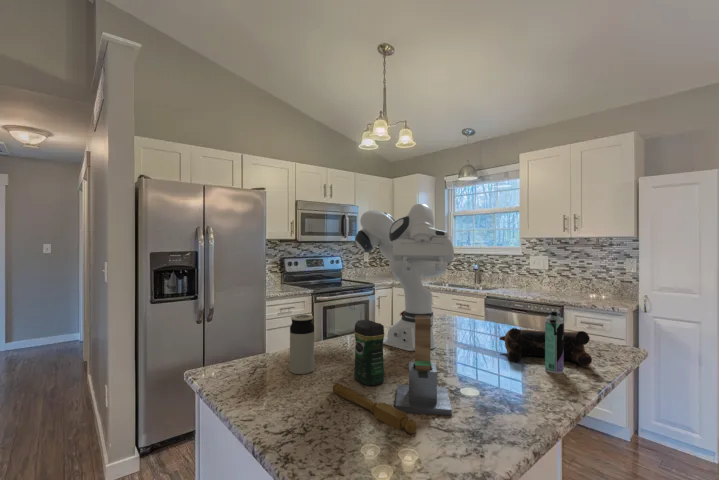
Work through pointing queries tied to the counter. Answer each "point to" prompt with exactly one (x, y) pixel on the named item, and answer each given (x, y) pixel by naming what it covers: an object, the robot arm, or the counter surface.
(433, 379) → the stand
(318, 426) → the counter surface
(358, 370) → the coffee jar
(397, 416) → the tap handle
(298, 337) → the travel mug
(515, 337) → the stuffed animal
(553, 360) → the spray can
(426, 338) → the column
